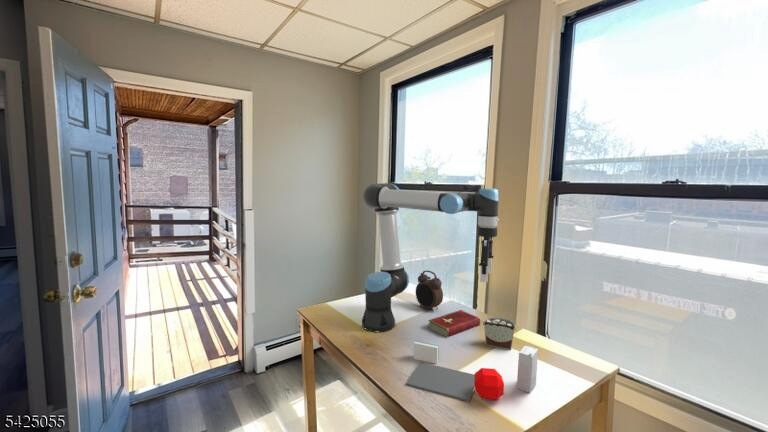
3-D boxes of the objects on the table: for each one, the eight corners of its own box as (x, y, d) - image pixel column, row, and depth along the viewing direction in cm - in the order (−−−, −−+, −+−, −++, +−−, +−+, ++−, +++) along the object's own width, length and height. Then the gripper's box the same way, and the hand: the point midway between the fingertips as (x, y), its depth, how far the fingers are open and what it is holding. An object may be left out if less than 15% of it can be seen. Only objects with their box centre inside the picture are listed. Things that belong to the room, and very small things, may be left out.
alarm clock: (413, 307, 173) (413, 269, 171) (422, 303, 178) (423, 267, 176) (434, 315, 162) (435, 275, 160) (444, 311, 167) (444, 272, 165)
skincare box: (522, 379, 108) (523, 344, 107) (537, 385, 105) (538, 348, 104) (516, 388, 104) (517, 351, 102) (531, 394, 101) (532, 356, 99)
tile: (413, 358, 122) (413, 342, 121) (415, 355, 124) (415, 340, 123) (437, 363, 118) (437, 347, 118) (438, 361, 120) (439, 345, 120)
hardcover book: (480, 326, 150) (480, 317, 150) (447, 338, 138) (447, 329, 138) (460, 317, 160) (460, 309, 160) (428, 328, 148) (428, 319, 148)
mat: (406, 384, 106) (406, 383, 106) (420, 363, 118) (420, 361, 118) (469, 402, 97) (469, 400, 97) (477, 377, 110) (477, 375, 110)
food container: (516, 343, 133) (516, 319, 132) (515, 350, 127) (516, 325, 126) (484, 337, 138) (484, 314, 137) (482, 344, 132) (482, 320, 131)
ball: (499, 388, 103) (500, 365, 103) (504, 405, 96) (505, 380, 95) (473, 386, 105) (474, 363, 104) (476, 403, 97) (477, 378, 96)
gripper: (494, 231, 121) (492, 287, 124) (499, 223, 144) (498, 271, 146) (473, 229, 124) (472, 284, 127) (482, 222, 147) (480, 269, 149)
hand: (485, 277), depth 136 cm, fingers open, 13 cm apart
